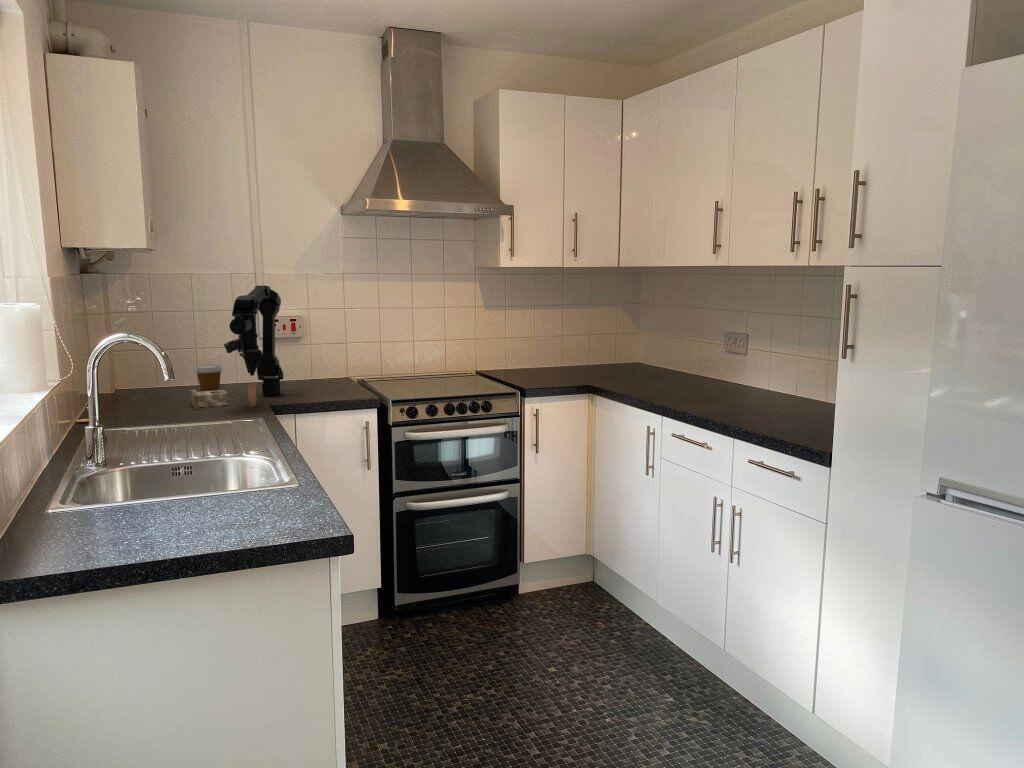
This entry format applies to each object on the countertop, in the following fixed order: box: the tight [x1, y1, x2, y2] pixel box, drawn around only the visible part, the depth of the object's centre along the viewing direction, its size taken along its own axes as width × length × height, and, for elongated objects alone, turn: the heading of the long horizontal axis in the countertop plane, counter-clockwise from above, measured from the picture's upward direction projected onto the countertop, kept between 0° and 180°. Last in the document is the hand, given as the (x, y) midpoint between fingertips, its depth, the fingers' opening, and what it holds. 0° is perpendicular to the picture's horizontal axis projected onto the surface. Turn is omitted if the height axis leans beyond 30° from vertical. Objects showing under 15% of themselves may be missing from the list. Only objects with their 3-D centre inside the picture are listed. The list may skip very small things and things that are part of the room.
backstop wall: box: [190, 389, 200, 410], centre depth 277 cm, size 2×13×5 cm, turn 27°
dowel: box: [247, 384, 257, 408], centre depth 276 cm, size 3×3×8 cm
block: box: [196, 389, 229, 408], centre depth 280 cm, size 10×8×4 cm
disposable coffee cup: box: [195, 364, 222, 392], centre depth 295 cm, size 10×10×12 cm
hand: (250, 374), depth 275 cm, fingers open, 6 cm apart
